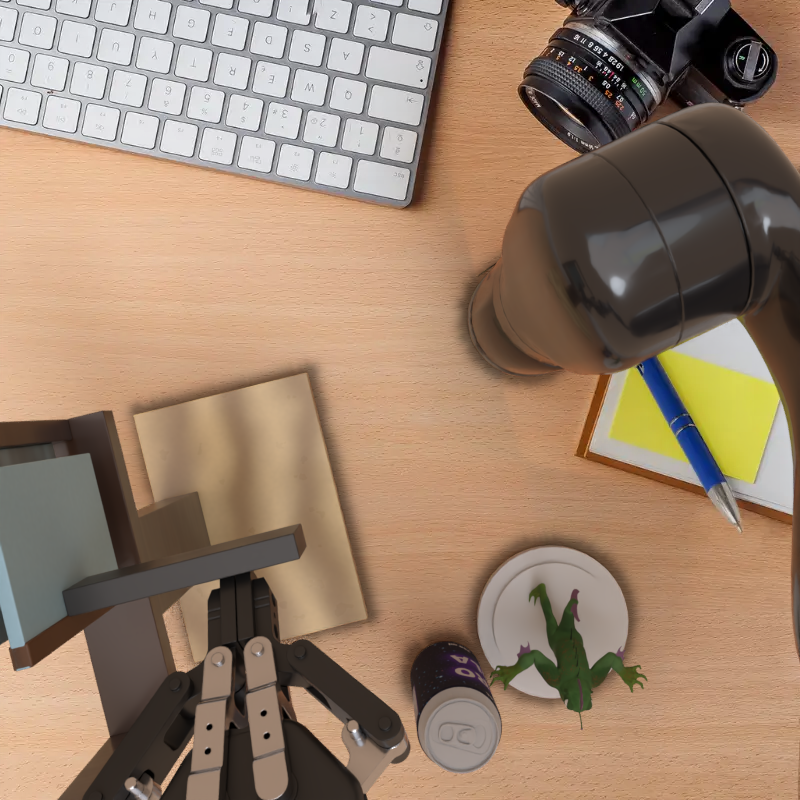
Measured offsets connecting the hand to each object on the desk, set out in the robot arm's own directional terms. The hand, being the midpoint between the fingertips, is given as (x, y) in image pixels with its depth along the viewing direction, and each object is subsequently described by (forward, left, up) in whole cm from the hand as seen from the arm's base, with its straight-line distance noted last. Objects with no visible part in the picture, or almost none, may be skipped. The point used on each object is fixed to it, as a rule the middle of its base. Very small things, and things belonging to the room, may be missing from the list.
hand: (242, 580), depth 36 cm
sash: (+3, -4, -5) cm, 7 cm away
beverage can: (-8, +16, -26) cm, 31 cm away
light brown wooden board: (+4, 0, -26) cm, 26 cm away
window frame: (+9, 0, -25) cm, 26 cm away
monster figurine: (-17, +14, -26) cm, 34 cm away
